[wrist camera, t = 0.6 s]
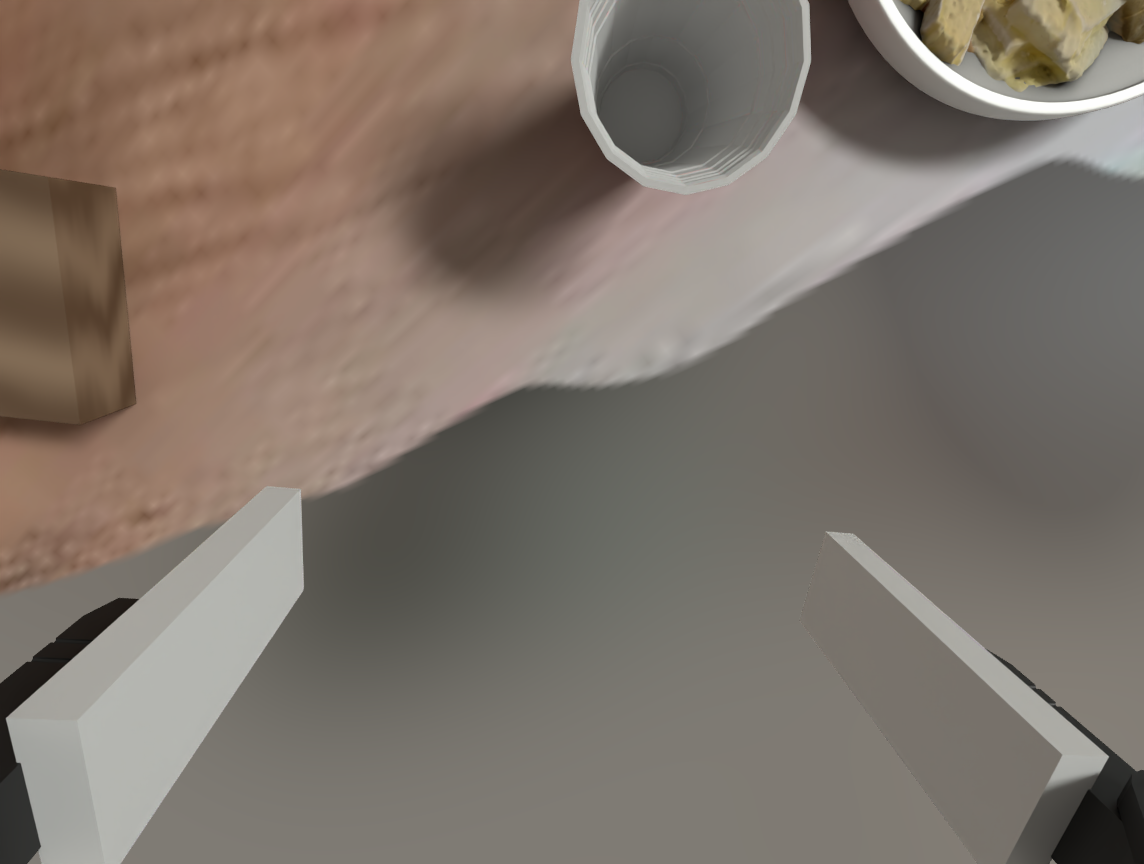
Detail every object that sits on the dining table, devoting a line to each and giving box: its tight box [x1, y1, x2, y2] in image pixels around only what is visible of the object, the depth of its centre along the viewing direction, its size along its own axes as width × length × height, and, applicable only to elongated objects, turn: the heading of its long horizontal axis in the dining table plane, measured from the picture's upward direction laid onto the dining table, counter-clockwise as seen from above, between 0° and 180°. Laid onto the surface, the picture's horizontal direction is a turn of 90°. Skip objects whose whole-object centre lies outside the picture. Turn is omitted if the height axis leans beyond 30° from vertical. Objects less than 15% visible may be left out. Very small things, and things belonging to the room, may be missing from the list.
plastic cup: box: [571, 0, 811, 195], centre depth 29 cm, size 11×11×12 cm
